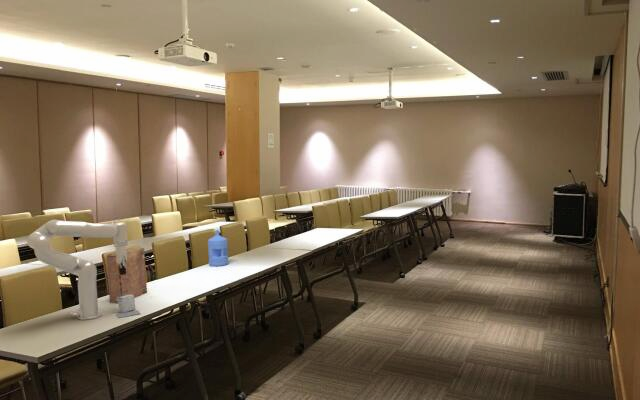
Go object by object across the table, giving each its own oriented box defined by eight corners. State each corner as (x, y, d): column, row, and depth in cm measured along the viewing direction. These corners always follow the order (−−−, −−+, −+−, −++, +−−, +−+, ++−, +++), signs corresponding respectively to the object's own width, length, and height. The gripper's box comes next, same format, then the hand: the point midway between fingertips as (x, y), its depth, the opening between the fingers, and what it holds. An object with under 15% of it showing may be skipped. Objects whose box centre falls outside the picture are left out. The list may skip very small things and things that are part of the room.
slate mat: (118, 318, 288) (118, 317, 288) (115, 314, 294) (115, 314, 294) (140, 314, 294) (140, 313, 294) (137, 310, 301) (137, 310, 301)
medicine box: (131, 309, 305) (130, 294, 305) (135, 309, 302) (134, 294, 302) (119, 312, 299) (117, 297, 299) (123, 312, 296) (121, 297, 296)
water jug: (205, 264, 424) (203, 230, 421) (221, 261, 434) (220, 228, 432) (215, 267, 412) (213, 232, 410) (232, 264, 423) (230, 230, 420)
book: (135, 292, 344) (132, 247, 341) (147, 292, 341) (144, 247, 339) (109, 302, 320) (106, 254, 317) (122, 303, 317) (119, 255, 315)
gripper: (111, 242, 308) (114, 273, 310) (116, 246, 295) (118, 277, 297) (125, 241, 312) (127, 271, 314) (130, 244, 299) (132, 275, 301)
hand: (123, 274), depth 305 cm, fingers closed
